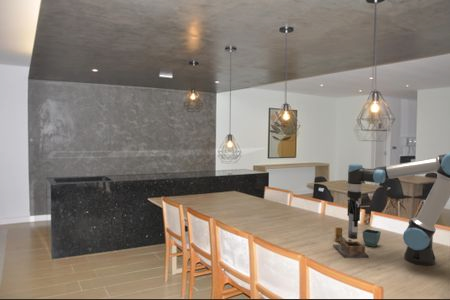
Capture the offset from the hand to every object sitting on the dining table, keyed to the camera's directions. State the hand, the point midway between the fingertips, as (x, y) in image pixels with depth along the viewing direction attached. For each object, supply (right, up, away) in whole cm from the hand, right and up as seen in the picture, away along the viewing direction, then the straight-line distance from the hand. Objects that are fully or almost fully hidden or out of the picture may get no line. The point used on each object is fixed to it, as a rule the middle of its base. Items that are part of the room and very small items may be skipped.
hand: (352, 230), depth 197 cm
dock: (0, -14, +4) cm, 14 cm away
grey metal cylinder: (0, -4, 0) cm, 4 cm away
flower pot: (+18, -14, +17) cm, 28 cm away
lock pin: (0, -13, +16) cm, 20 cm away
